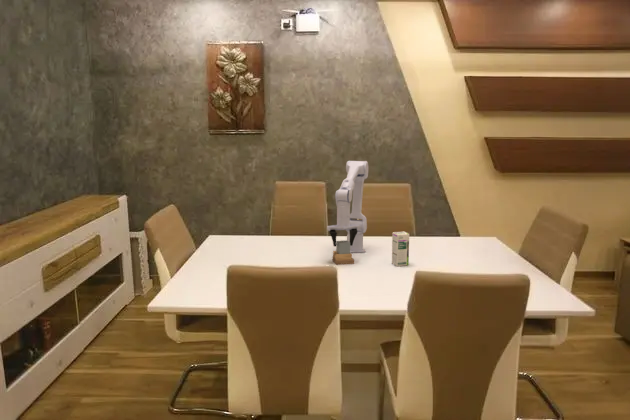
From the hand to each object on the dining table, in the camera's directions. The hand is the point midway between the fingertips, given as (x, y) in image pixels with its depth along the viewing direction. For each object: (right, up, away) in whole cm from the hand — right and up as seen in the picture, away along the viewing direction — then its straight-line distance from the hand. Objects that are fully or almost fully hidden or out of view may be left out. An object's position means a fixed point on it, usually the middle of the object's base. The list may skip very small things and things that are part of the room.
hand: (342, 245), depth 244 cm
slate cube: (0, -3, 0) cm, 3 cm away
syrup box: (+25, -8, -2) cm, 27 cm away
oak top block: (0, -6, +1) cm, 6 cm away
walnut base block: (0, -8, +2) cm, 8 cm away
